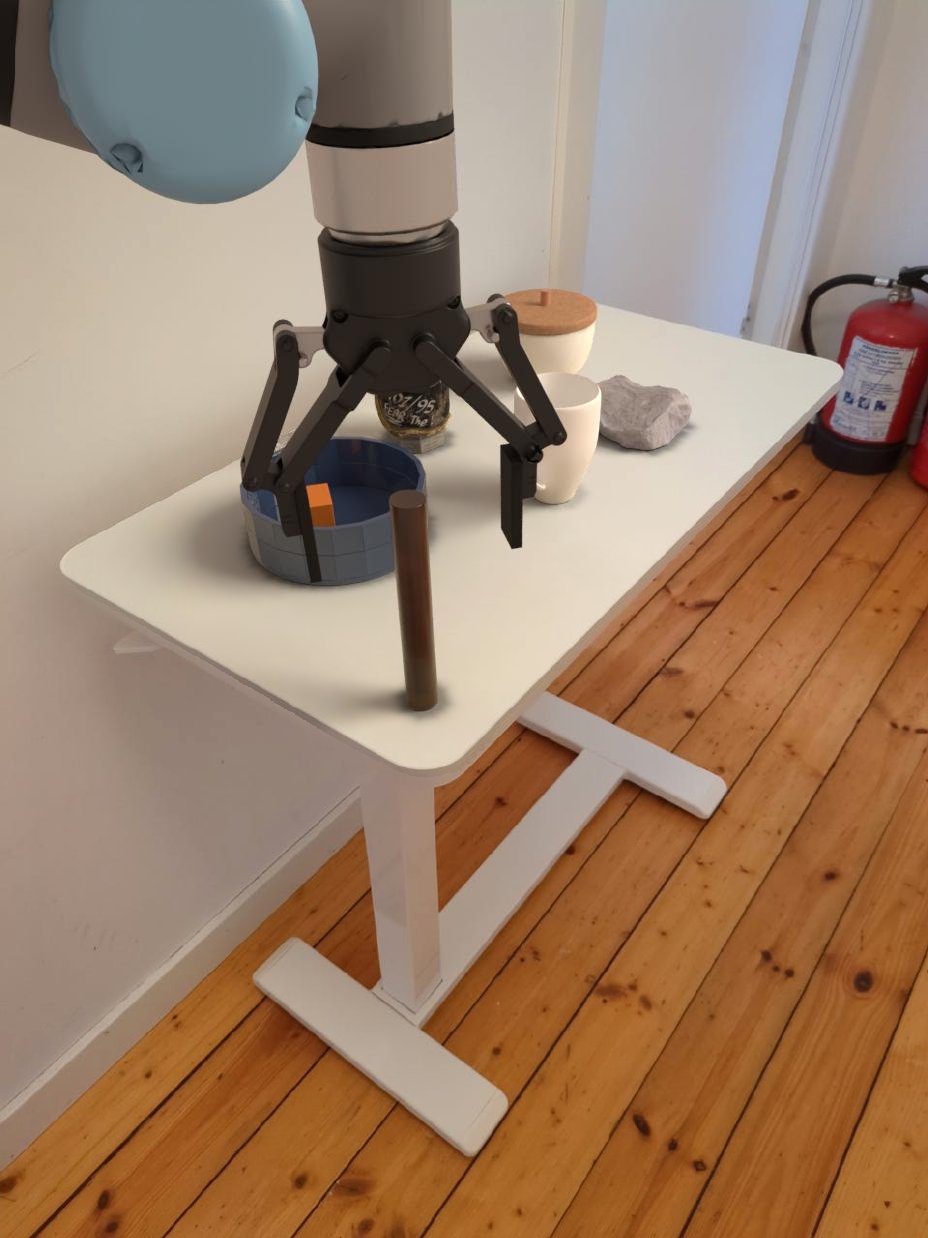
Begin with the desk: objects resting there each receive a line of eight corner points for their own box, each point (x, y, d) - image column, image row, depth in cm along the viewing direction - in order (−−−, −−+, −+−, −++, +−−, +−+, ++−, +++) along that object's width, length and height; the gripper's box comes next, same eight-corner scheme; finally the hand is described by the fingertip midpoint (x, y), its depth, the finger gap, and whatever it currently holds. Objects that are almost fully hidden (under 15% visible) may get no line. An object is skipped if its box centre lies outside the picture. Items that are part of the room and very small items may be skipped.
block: (295, 546, 85) (289, 510, 82) (291, 523, 88) (285, 488, 85) (337, 539, 85) (332, 503, 83) (331, 517, 89) (327, 482, 86)
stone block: (650, 470, 99) (697, 421, 103) (649, 434, 95) (697, 385, 100) (563, 442, 105) (610, 397, 110) (558, 407, 102) (607, 362, 106)
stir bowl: (257, 599, 79) (245, 543, 76) (246, 501, 93) (235, 449, 89) (445, 568, 82) (443, 513, 79) (409, 477, 95) (406, 426, 92)
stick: (410, 713, 68) (392, 511, 57) (404, 692, 70) (385, 492, 58) (440, 707, 68) (429, 505, 57) (434, 686, 70) (421, 486, 59)
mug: (535, 466, 97) (538, 365, 90) (606, 484, 93) (615, 381, 86) (481, 519, 89) (479, 413, 82) (557, 541, 85) (562, 433, 78)
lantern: (405, 464, 98) (387, 222, 82) (364, 438, 103) (340, 205, 87) (467, 439, 102) (462, 204, 86) (425, 415, 107) (413, 189, 91)
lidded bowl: (612, 382, 113) (620, 294, 106) (528, 407, 108) (531, 316, 101) (555, 349, 121) (558, 266, 114) (475, 370, 116) (474, 285, 110)
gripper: (587, 183, 52) (571, 497, 65) (145, 227, 48) (225, 553, 61) (637, 217, 46) (608, 554, 60) (140, 271, 42) (229, 620, 56)
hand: (414, 554), depth 61 cm, fingers open, 13 cm apart
